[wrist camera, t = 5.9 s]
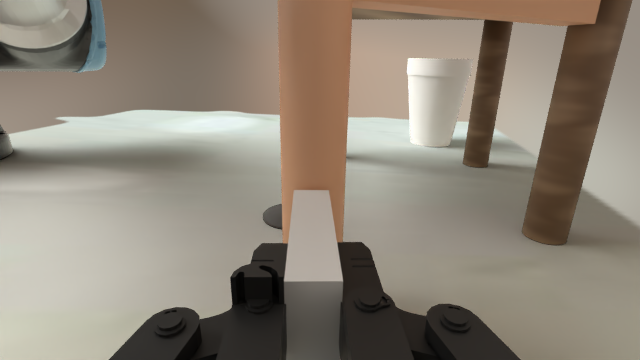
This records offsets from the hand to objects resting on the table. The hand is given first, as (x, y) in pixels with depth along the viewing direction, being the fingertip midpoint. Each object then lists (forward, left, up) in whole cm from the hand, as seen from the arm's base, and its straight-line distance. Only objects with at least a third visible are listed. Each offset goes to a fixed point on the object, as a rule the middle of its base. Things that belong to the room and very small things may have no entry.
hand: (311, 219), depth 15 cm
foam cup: (+12, +45, -6) cm, 47 cm away
